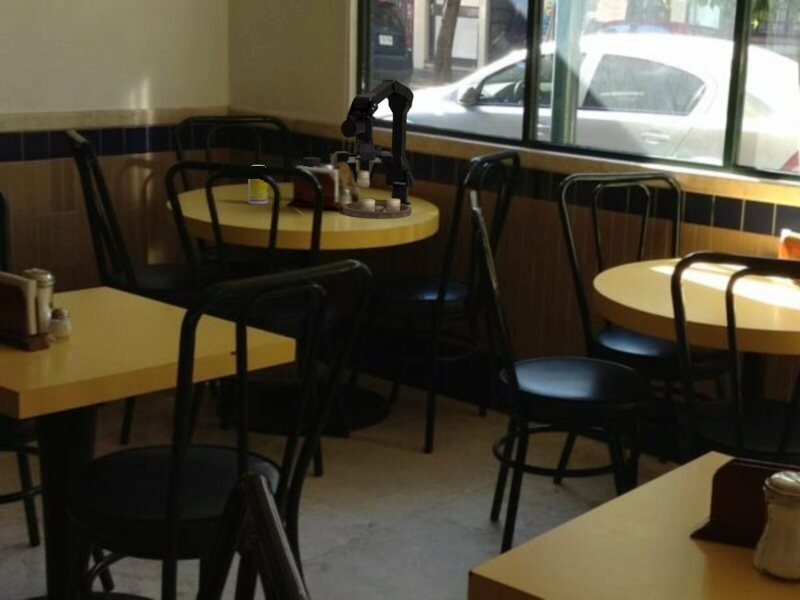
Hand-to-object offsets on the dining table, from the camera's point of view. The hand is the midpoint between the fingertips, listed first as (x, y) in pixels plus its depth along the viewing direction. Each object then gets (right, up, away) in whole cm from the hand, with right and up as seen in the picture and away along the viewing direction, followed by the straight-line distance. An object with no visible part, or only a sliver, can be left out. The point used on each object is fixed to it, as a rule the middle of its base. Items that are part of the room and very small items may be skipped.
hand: (362, 182), depth 422 cm
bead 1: (+2, -11, -6) cm, 13 cm away
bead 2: (+10, -11, -4) cm, 15 cm away
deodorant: (-18, -4, +23) cm, 30 cm away
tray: (+5, -11, -1) cm, 12 cm away
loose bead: (0, -1, 0) cm, 1 cm away
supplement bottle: (-36, -6, +16) cm, 40 cm away
